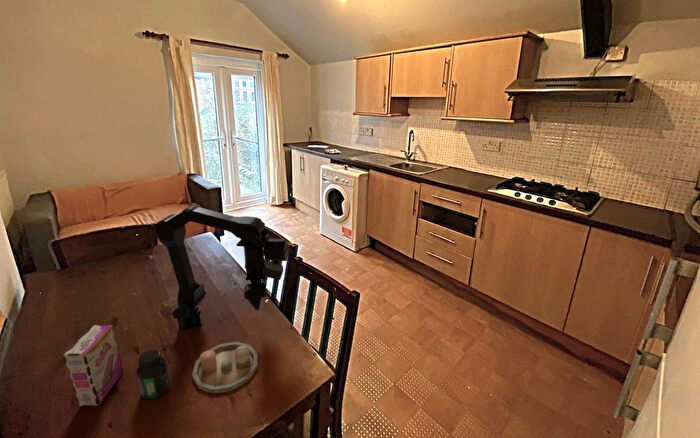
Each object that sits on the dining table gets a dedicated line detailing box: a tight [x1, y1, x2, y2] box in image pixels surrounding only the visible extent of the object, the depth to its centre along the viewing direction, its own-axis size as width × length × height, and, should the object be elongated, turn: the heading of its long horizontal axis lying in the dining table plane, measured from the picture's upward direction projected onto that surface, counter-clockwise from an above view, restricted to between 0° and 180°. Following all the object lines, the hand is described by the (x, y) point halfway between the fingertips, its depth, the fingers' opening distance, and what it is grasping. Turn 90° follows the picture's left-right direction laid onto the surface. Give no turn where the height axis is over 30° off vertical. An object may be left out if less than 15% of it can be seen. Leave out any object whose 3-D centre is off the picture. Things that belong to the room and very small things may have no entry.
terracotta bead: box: [199, 349, 217, 375], centre depth 91 cm, size 4×4×5 cm
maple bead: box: [234, 346, 250, 370], centre depth 93 cm, size 4×4×5 cm
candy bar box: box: [63, 324, 124, 407], centre depth 83 cm, size 11×5×16 cm, turn 5°
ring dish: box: [191, 341, 259, 394], centre depth 93 cm, size 17×17×2 cm
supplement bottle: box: [136, 348, 172, 401], centre depth 84 cm, size 7×7×12 cm
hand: (257, 301), depth 105 cm, fingers open, 9 cm apart
